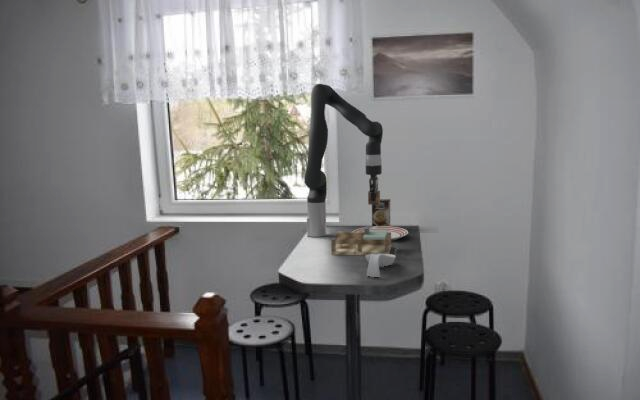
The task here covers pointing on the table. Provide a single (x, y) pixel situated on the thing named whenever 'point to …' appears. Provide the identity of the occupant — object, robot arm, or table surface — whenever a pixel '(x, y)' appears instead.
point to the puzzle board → (359, 244)
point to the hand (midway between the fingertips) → (374, 199)
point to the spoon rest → (378, 263)
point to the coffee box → (381, 213)
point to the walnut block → (376, 198)
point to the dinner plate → (395, 231)
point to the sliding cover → (374, 234)
